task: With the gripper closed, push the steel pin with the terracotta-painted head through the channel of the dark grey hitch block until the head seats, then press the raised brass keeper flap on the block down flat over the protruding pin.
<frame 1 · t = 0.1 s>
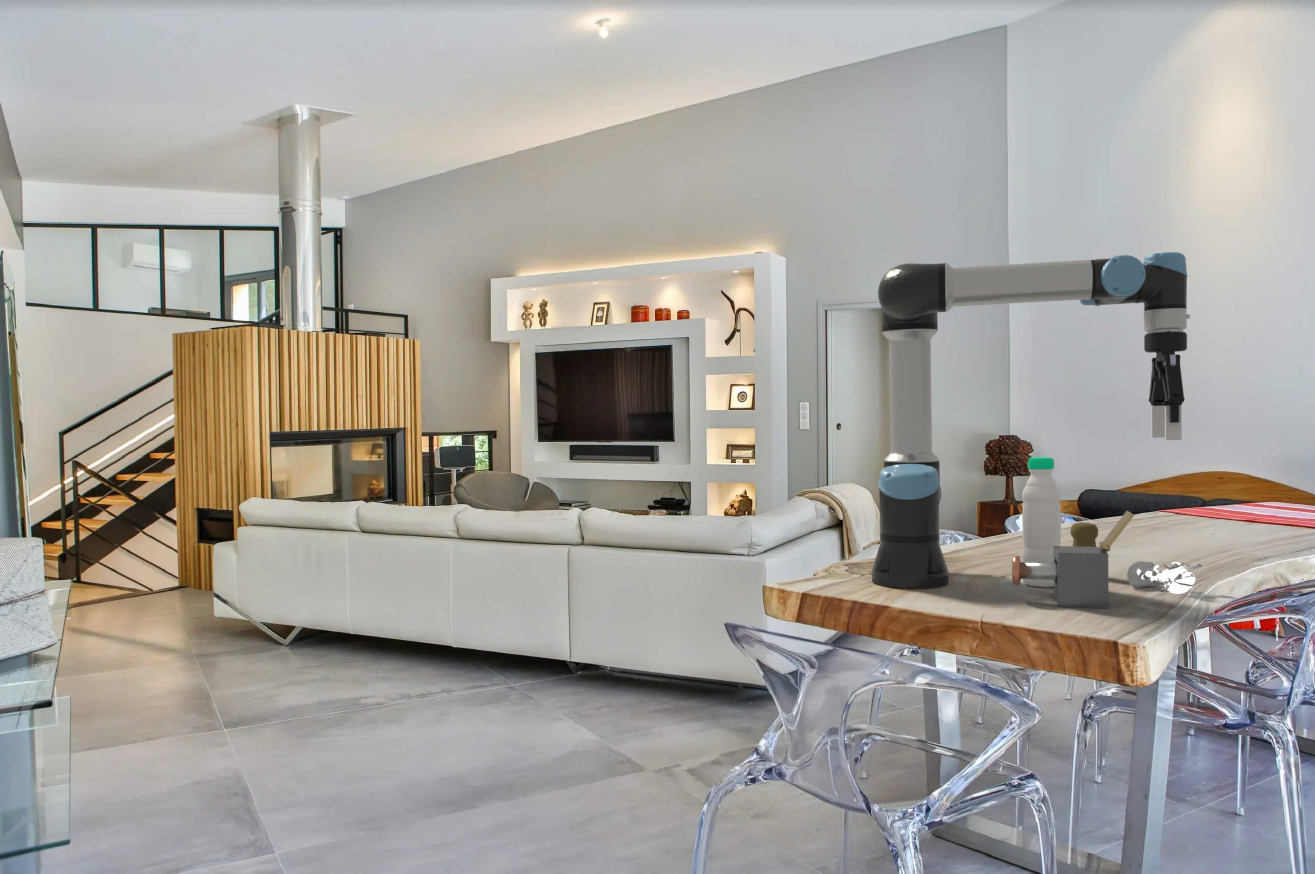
hand: (1165, 438, 190), 28 cm above the table, fingers open, 13 cm apart
figurine: (1162, 592, 179), on the table
keeper flap: (1116, 531, 168), point 13 cm above the table, hinge at 55.0°
pin: (1051, 571, 171), point 6 cm above the table, slide at 6.0 cm
cork: (1084, 577, 195), on the table
water bottle: (1042, 585, 188), on the table
hitch block: (1080, 602, 170), on the table
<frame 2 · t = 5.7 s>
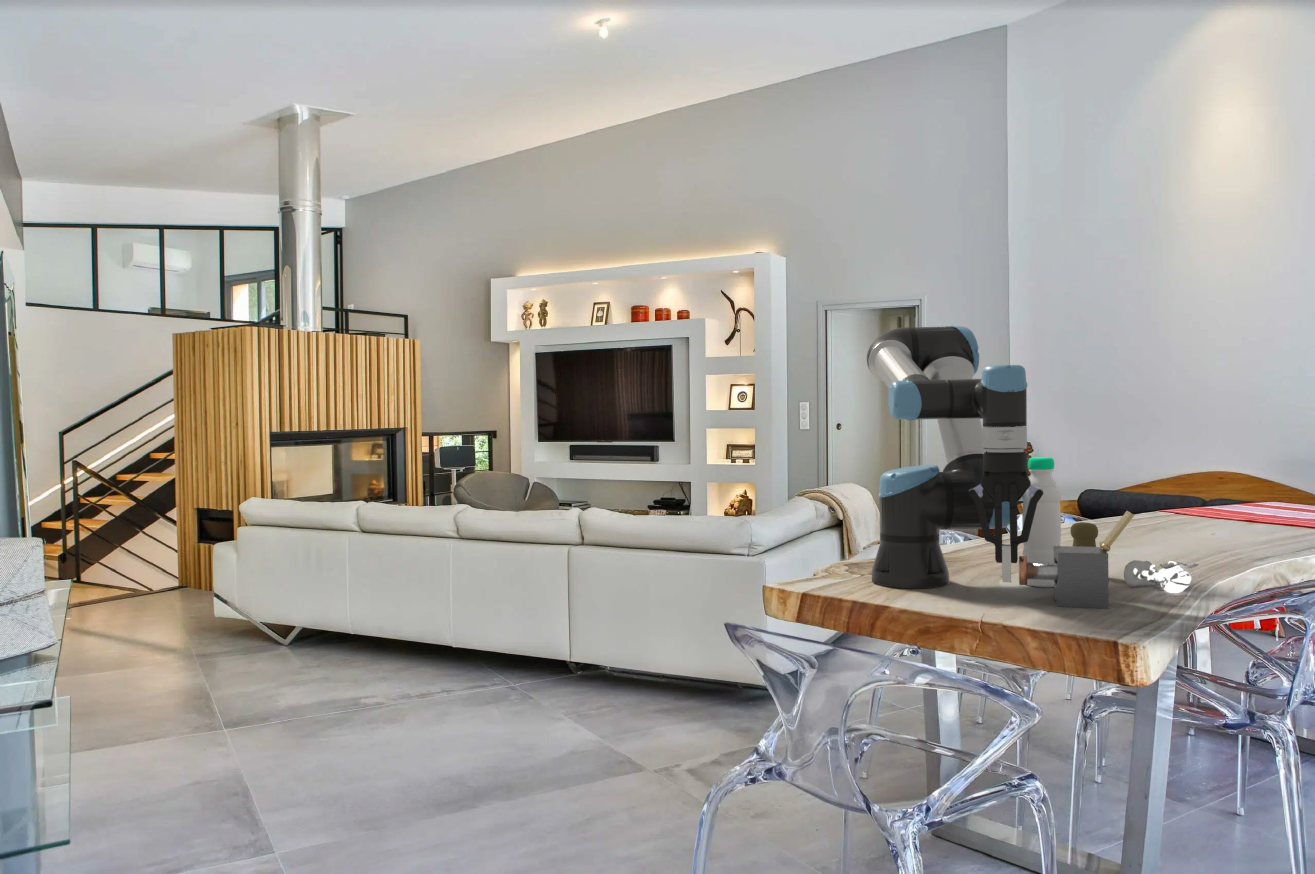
hand: (1006, 580, 173), 4 cm above the table, fingers closed
pin: (1058, 571, 171), point 6 cm above the table, slide at 4.8 cm, touching gripper
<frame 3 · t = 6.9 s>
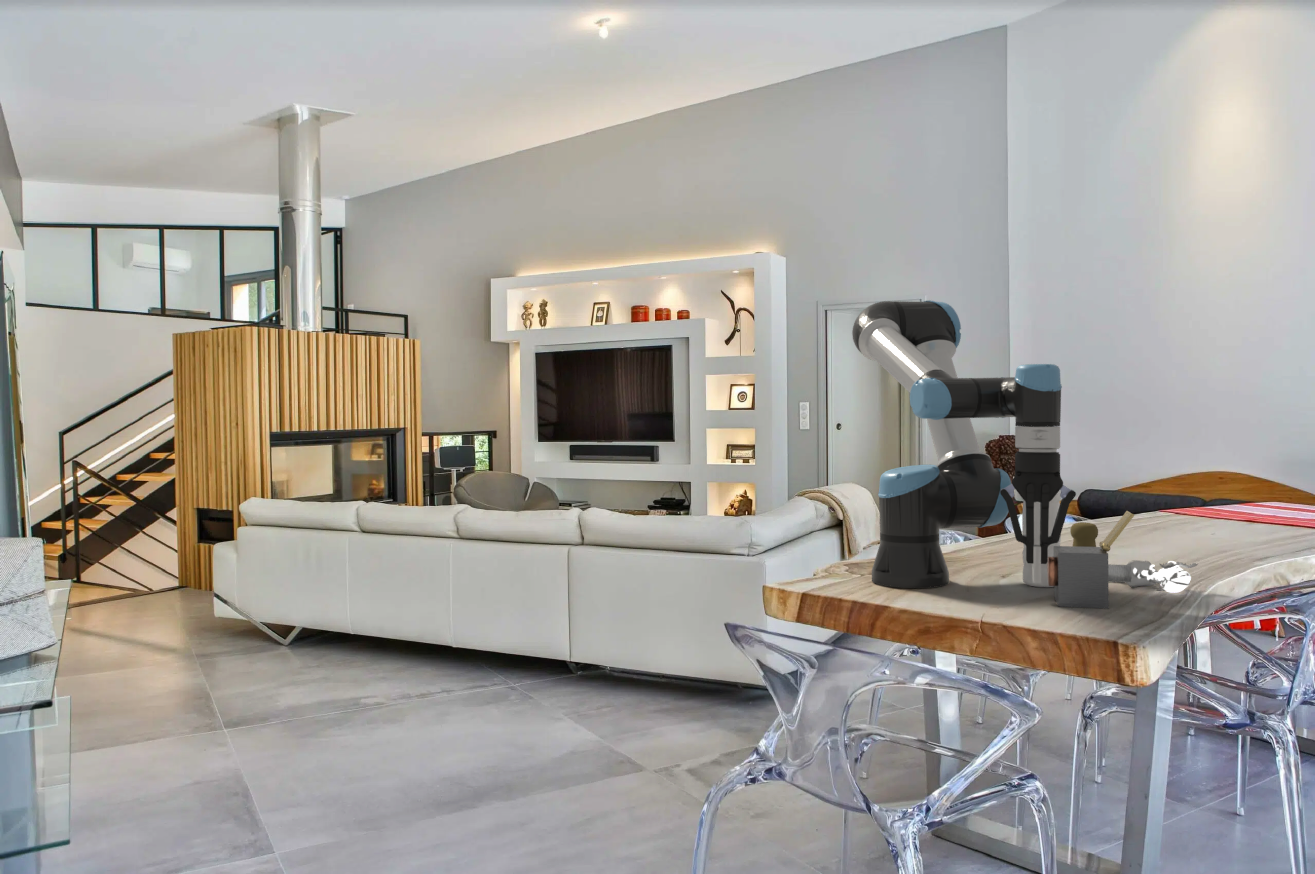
hand: (1036, 581, 172), 4 cm above the table, fingers closed
pin: (1088, 572, 169), point 5 cm above the table, slide at -0.1 cm, touching gripper, hitch block
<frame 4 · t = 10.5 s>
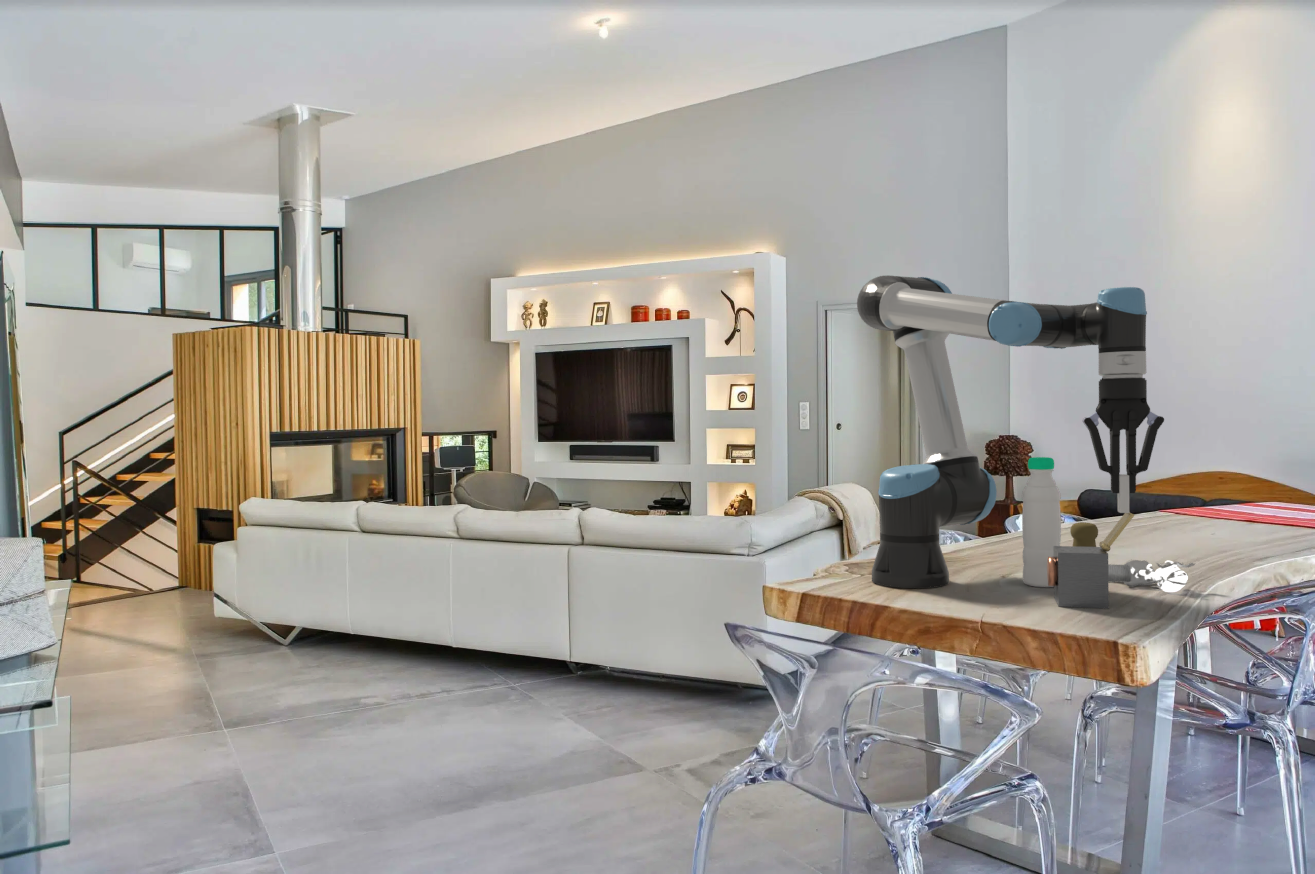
hand: (1123, 511, 167), 16 cm above the table, fingers closed
keeper flap: (1116, 531, 168), point 13 cm above the table, hinge at 55.0°, touching gripper
pin: (1088, 572, 169), point 6 cm above the table, slide at 0.0 cm
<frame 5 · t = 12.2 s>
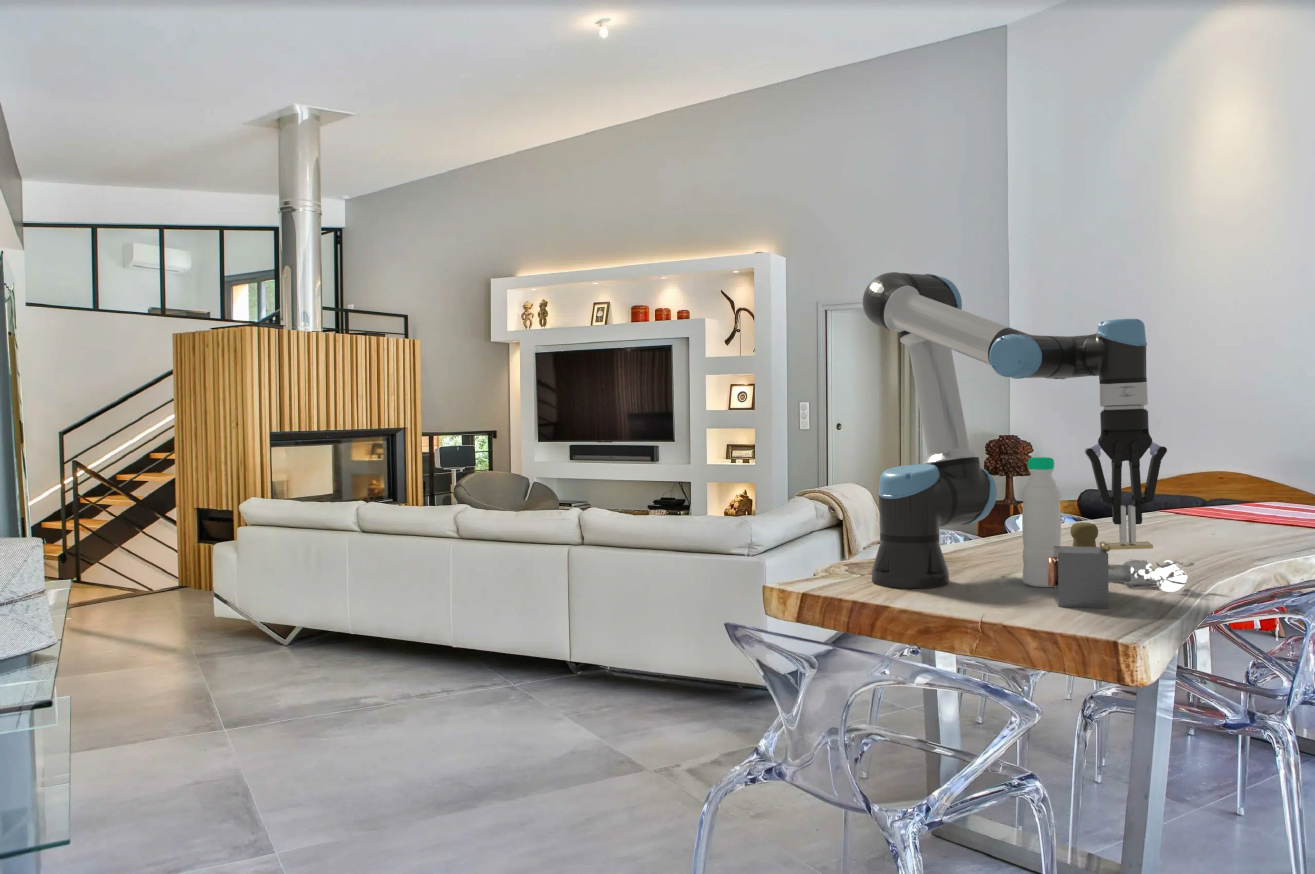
hand: (1127, 542, 167), 11 cm above the table, fingers closed, pressing on keeper flap
keeper flap: (1125, 545, 167), point 10 cm above the table, hinge at 3.4°, touching gripper
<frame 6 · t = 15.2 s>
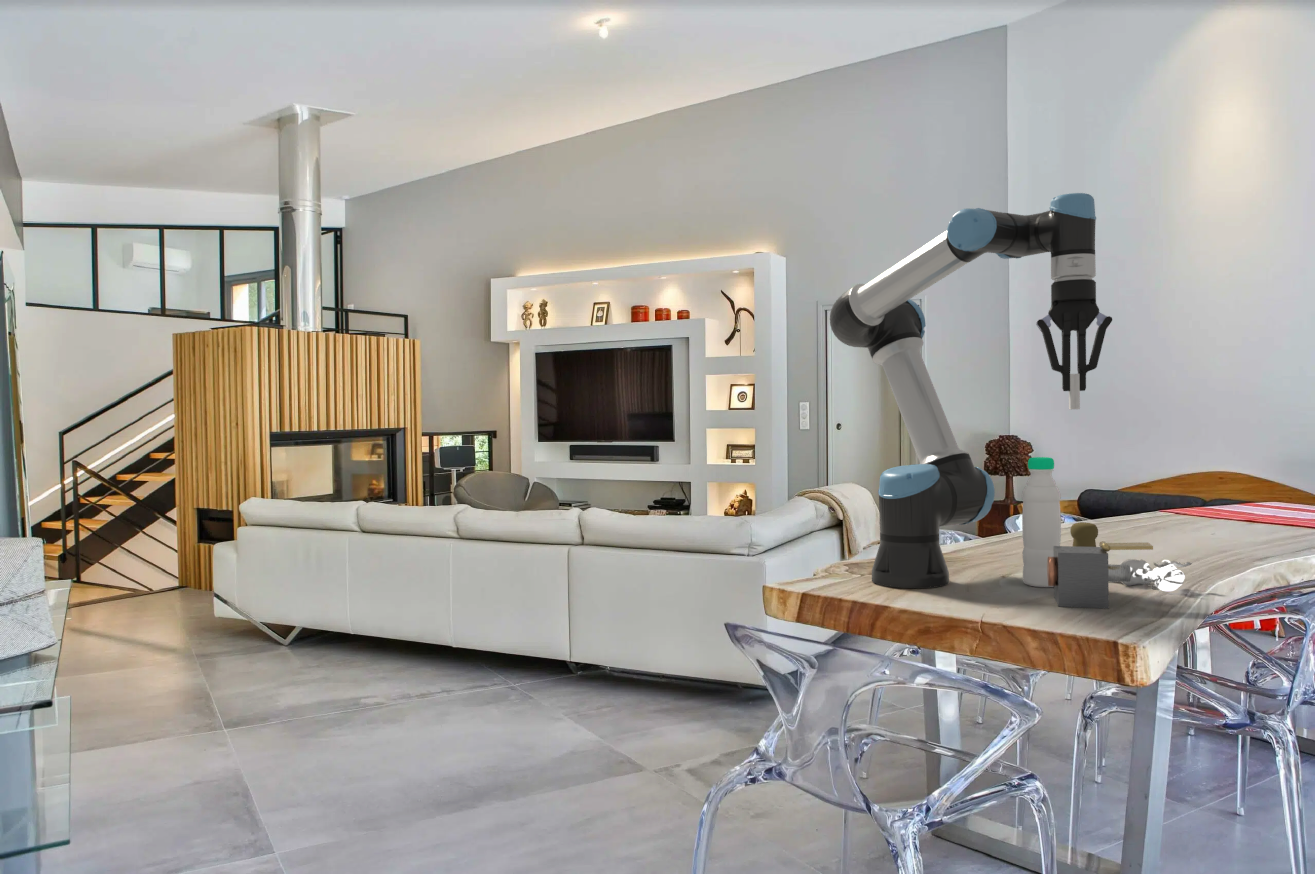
hand: (1074, 409, 175), 34 cm above the table, fingers closed
keeper flap: (1125, 546, 167), point 10 cm above the table, hinge at 1.8°
at the end: pin slide at 0.0 cm; keeper flap at +2° (first picture: +55°) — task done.
